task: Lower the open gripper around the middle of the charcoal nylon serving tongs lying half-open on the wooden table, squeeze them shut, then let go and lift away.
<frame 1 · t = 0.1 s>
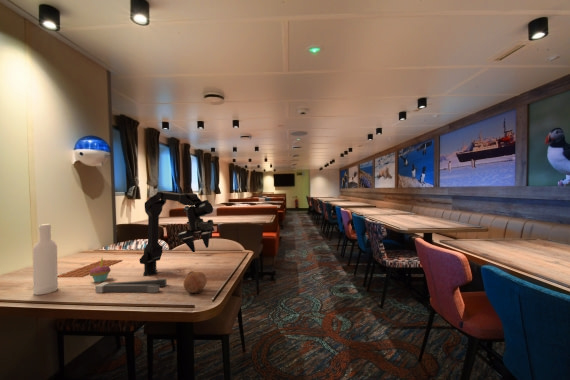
hand: (200, 249, 117), 15 cm above the table, tool pointing down, fingers open, 9 cm apart
cupcake: (100, 280, 121), on the table
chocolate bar: (93, 269, 141), on the table
bottle: (45, 291, 108), on the table
tongs base: (106, 290, 108), on the table
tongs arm: (138, 284, 111), point 1 cm above the table, hinge at 10.0°
tan round lump: (195, 292, 105), on the table
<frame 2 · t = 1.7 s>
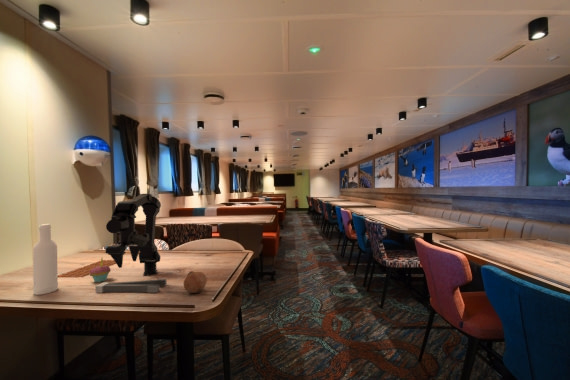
hand: (127, 264, 108), 12 cm above the table, tool pointing down, fingers open, 9 cm apart
nothing on the table moved.
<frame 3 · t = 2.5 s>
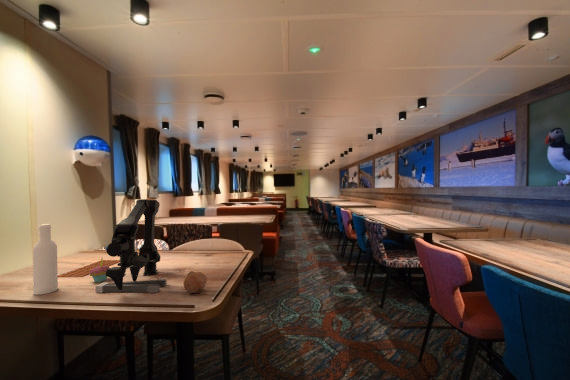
hand: (127, 285, 108), 2 cm above the table, tool pointing down, fingers open, 9 cm apart
nothing on the table moved.
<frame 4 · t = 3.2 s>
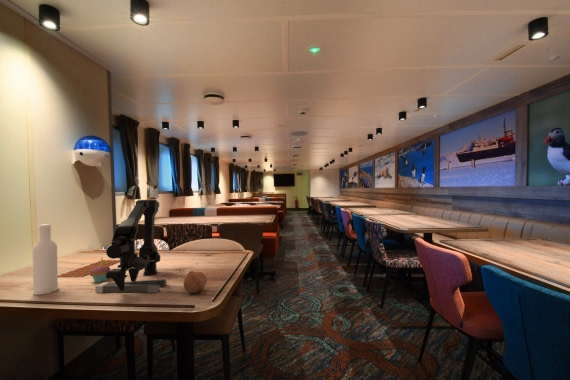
hand: (128, 287, 108), 1 cm above the table, tool pointing down, fingers open, 7 cm apart
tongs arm: (138, 284, 111), point 1 cm above the table, hinge at 10.0°, touching gripper
everything else where it was.
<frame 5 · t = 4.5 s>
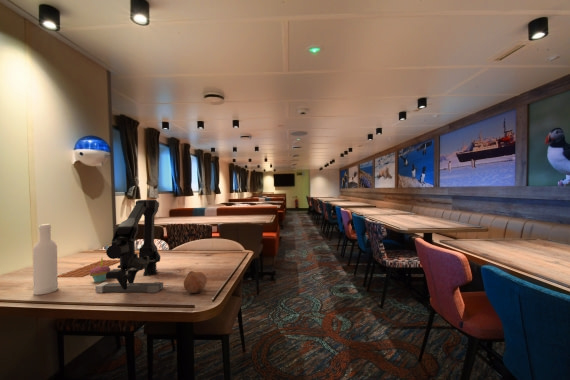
hand: (128, 287, 108), 1 cm above the table, tool pointing down, fingers open, 3 cm apart
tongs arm: (135, 285, 109), point 1 cm above the table, hinge at -0.2°, touching gripper
everything else where it was.
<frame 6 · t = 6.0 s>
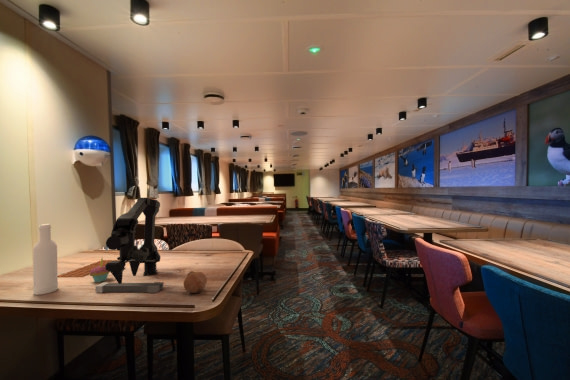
hand: (127, 279, 108), 5 cm above the table, tool pointing down, fingers open, 9 cm apart
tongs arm: (135, 285, 109), point 1 cm above the table, hinge at -0.2°
everything else where it was.
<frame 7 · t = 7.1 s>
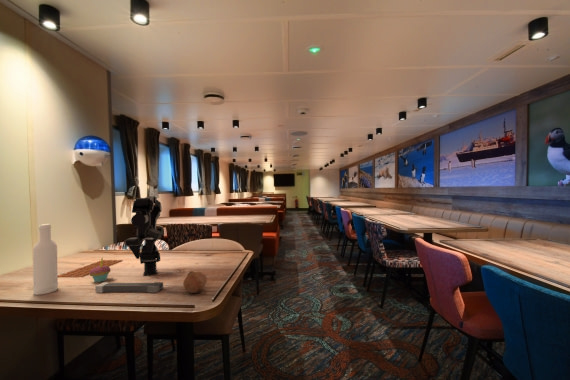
hand: (144, 256, 117), 13 cm above the table, tool pointing down, fingers open, 9 cm apart
nothing on the table moved.
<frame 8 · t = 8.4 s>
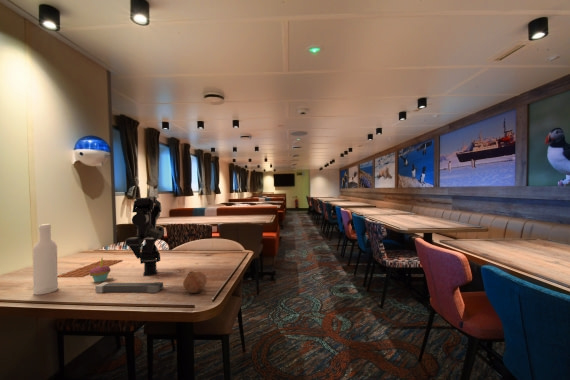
hand: (144, 255, 117), 13 cm above the table, tool pointing down, fingers open, 9 cm apart
nothing on the table moved.
at the end: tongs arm at +0° (first picture: +10°); the gripper is holding nothing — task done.
